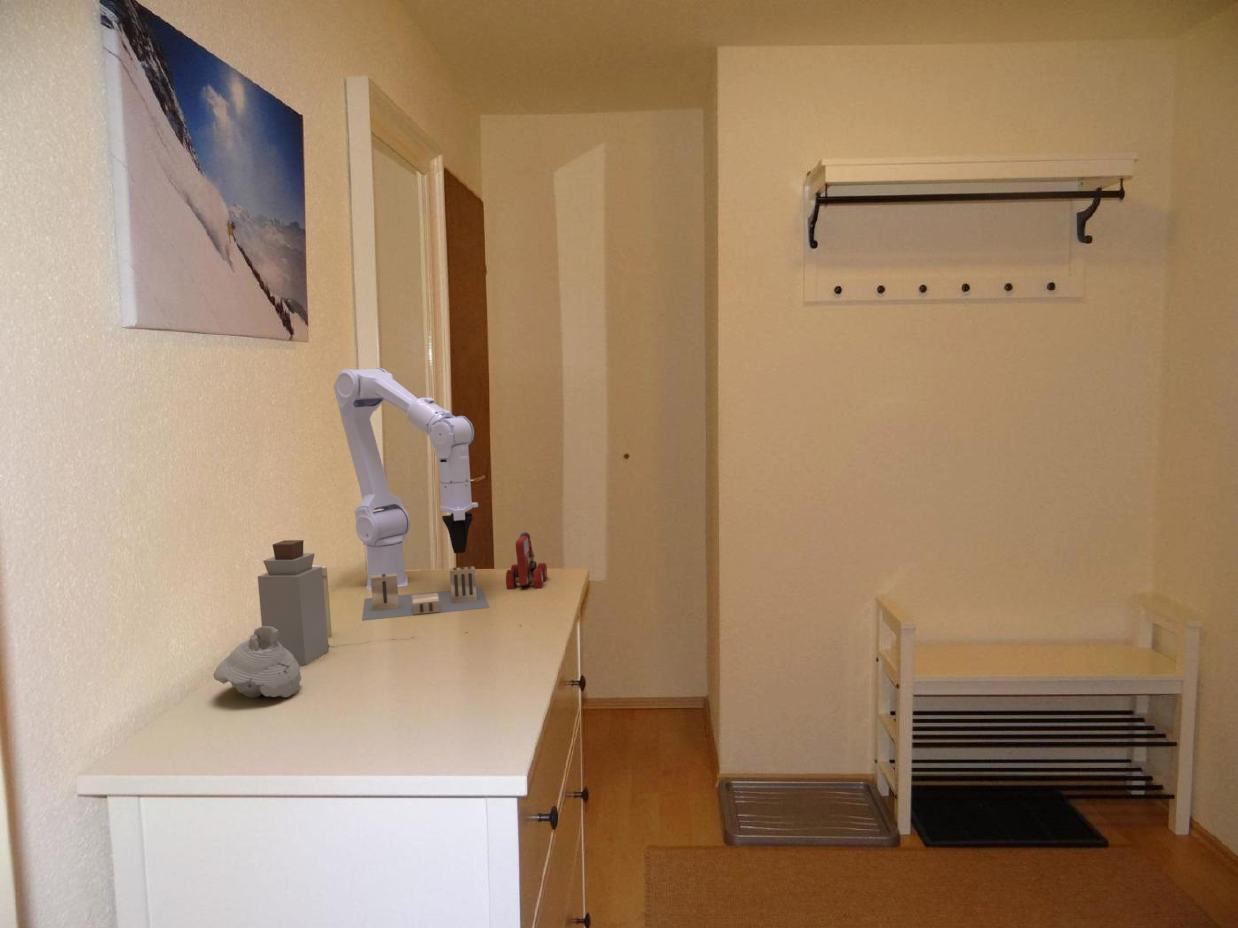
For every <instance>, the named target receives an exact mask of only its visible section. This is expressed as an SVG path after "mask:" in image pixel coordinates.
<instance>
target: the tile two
mask: <svg viewBox="0 0 1238 928" xmlns="http://www.w3.org/2000/svg"><path fill="white" fill-rule="evenodd" d="M412 600H413V614H423V613H433V612H440V610H439V599H438V593H431V594H421V595H412Z"/></svg>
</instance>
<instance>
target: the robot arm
mask: <svg viewBox="0 0 1238 928" xmlns="http://www.w3.org/2000/svg"><path fill="white" fill-rule="evenodd" d="M333 390H334V394H335V398H336V402H337V405H338V409H339V412H340V418H341V423H342V426H343V430H344V434H345V437H346V438H345V439H346V441H347V445H348V449H349V452H350V456H351V459H352V463H353V467H354V470H355V475H356V478H357V482H358V486H359V489H360V493H361V497H362V500H361V501H360V502H359V504H358V505H357V506H356V508H355V509H354V511H353V512H354V515H355V531H356V534H357V537H358V538H359V540H360V541H361V542H362V544H363V546H366V547H365V548H366V562H367V572H368V573H367V574H368V575H367V577H368V578H367V581H366V590H372V589H371V576H373V575H382V574H395V573H397V587H405V586H408V585H409V584H408V575H406V571H405V570H406V569H405V557H404V556H405V555H404V542H403V541H405V540H406V535H407V534H408V533H409V531H410V529H411V519H410V515H409V514H408V512H407V510H406V509H405V507H404V505H403V501H402V499H401V498H399V497H398V496H397V495H395V494H394V493H392V492H391V491H390V488H389V484H388V481H387V477H386V474H385V470H384V466H383V462H382V458H381V454H380V452H379V451H380V450H379V447H378V444H377V440H376V437H375V433H374V430H373V426H372V422H371V417H372V415H373V413H374V412H375V411H377V410H378V409H379V407H381V405H382V404H383V402H385V401H386V402H388V403H389V404H391V405H393V406H395V407H396V408H398V409H399V410H401V411H403V412H404V413H406V414H407V415H406V416H407V421H408V422H409V423H410V424H412V425H413V426H414V427H416V428H417V429H419V430H420V431H422V432H423V433H424V434H426V435H427V436H428V437H429V439H430V443H431V445H432V446H433V448H434V452H435V453H434V454H435V456H436V458H437V463H438V477H439V490H440V491H439V492H440V493H439V494H440V505H439V507H440V508H439V509H440V511H443V512H446V513H450V514H448V515H443V516H441V518H442V522H443V523H444V525H445V526H446V529H447V531H448V534H449V538H450V545H451V548H452V551H453V553H454V554H463V553H464V554H465V553H466V550H467V546H468V545H467V544H468V535H469V529H470V526H471V524H472V522H473V518H474V517H473V513H472V512H469V511H470V510H472V509H473V508H478V507H479V503H478V502H473V501H472V487H471V484H472V483H471V471H470V452H469V450H470V449H469V445H471V443H472V442H473V441H474V436H475V428H474V425H473V423H472V422H471V421H470V420H469V419H468V418H467V417H466V416H464V415H458V416H455V415H454V414H452V412H451V411H450V410H446V409H444V408H443V407H441V406H439V405H438V404H436V403H435V401H436V400H435V399H434V398H432V397H431V396H430V397H420V398H417V397H416V396H415V395H414V394H413V393H411V392H410V391H409V390H407V389H406V388H405V387H404V386H403V385H401V384H400V383H399V382H398V381H396V380H395V379H394V376H393V374H392V373H390V372H389V371H387V370H386V369H384V368H381V367H377V368H366V369H364V368H363V369H349V368H348V369H347V368H345V369H343V370H341V371H340V372H339V373H338V374H337V377H336V379H335V381H334V384H333Z"/></svg>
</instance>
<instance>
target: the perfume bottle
mask: <svg viewBox="0 0 1238 928" xmlns="http://www.w3.org/2000/svg"><path fill="white" fill-rule="evenodd" d="M272 549H273V555H274V556H271V557H269V558H267V559H264V560H263V561H262V562H263V564H264V566H265V567H264V568H265V569H266V571H267V572H265V573H263V574H260V575H258V576H257V583H258V596H259V609H260V620H261V627H263V626H270V627H274V628H275V629H277V630H278V631H279V637H278V639H277V641H278V642H279V643H280V644H281V645H282V646H283V647H284V648H285V649H287V650H288V651H289V652H290V653H291V654H292V655H293V656H294V658H295V659H296V661H297V662H298V664H299V666H307V665H309V664H310V663H311V662H312V663H313V662H314V661H315V660H317V659H319V658H320V657H321V656H324V655H325V654H327V653H328V652H329V651H330V650H329V637H328V635H327V622H326V610H325V597H324V584H323V571H322V567H312V565H314V559H315V552H314V553H313V552H304V540H303V539H302V540H301V539H296V540H295V539H294V540H293V539H290V540H289V539H286V540H285V539H284V540H281V541H279V542H275V543H273V544H272Z"/></svg>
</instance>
